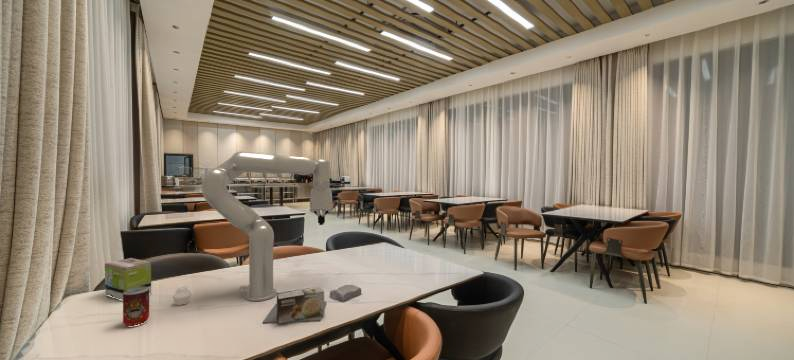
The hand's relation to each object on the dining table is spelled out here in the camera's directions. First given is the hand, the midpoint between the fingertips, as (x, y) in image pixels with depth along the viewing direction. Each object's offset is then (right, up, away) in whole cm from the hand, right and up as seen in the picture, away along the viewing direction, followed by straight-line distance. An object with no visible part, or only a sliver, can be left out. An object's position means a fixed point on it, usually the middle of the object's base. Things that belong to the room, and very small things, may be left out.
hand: (321, 224), depth 145 cm
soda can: (-56, -30, -37) cm, 73 cm away
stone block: (+13, -30, -11) cm, 34 cm away
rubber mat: (-2, -30, -28) cm, 41 cm away
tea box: (-80, -29, -12) cm, 86 cm away
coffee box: (+8, -25, -29) cm, 39 cm away
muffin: (-51, -29, -21) cm, 63 cm away
